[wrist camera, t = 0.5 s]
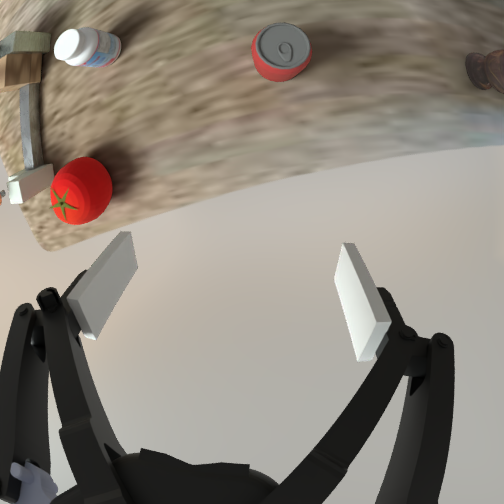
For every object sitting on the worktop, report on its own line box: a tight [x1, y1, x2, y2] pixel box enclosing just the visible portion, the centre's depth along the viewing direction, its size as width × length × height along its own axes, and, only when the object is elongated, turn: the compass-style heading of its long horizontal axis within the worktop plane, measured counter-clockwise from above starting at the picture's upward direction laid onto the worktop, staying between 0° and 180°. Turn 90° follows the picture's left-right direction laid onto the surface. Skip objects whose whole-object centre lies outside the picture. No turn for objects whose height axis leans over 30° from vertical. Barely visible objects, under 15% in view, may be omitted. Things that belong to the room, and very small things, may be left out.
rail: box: [0, 31, 51, 171], centre depth 27 cm, size 27×8×13 cm, turn 177°
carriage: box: [0, 53, 42, 93], centre depth 24 cm, size 6×5×10 cm
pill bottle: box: [54, 27, 121, 67], centre depth 25 cm, size 6×6×11 cm
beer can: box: [251, 23, 312, 82], centre depth 26 cm, size 7×7×12 cm
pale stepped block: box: [7, 164, 54, 204], centre depth 36 cm, size 4×9×10 cm, turn 87°
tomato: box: [50, 157, 112, 225], centre depth 37 cm, size 10×11×11 cm
